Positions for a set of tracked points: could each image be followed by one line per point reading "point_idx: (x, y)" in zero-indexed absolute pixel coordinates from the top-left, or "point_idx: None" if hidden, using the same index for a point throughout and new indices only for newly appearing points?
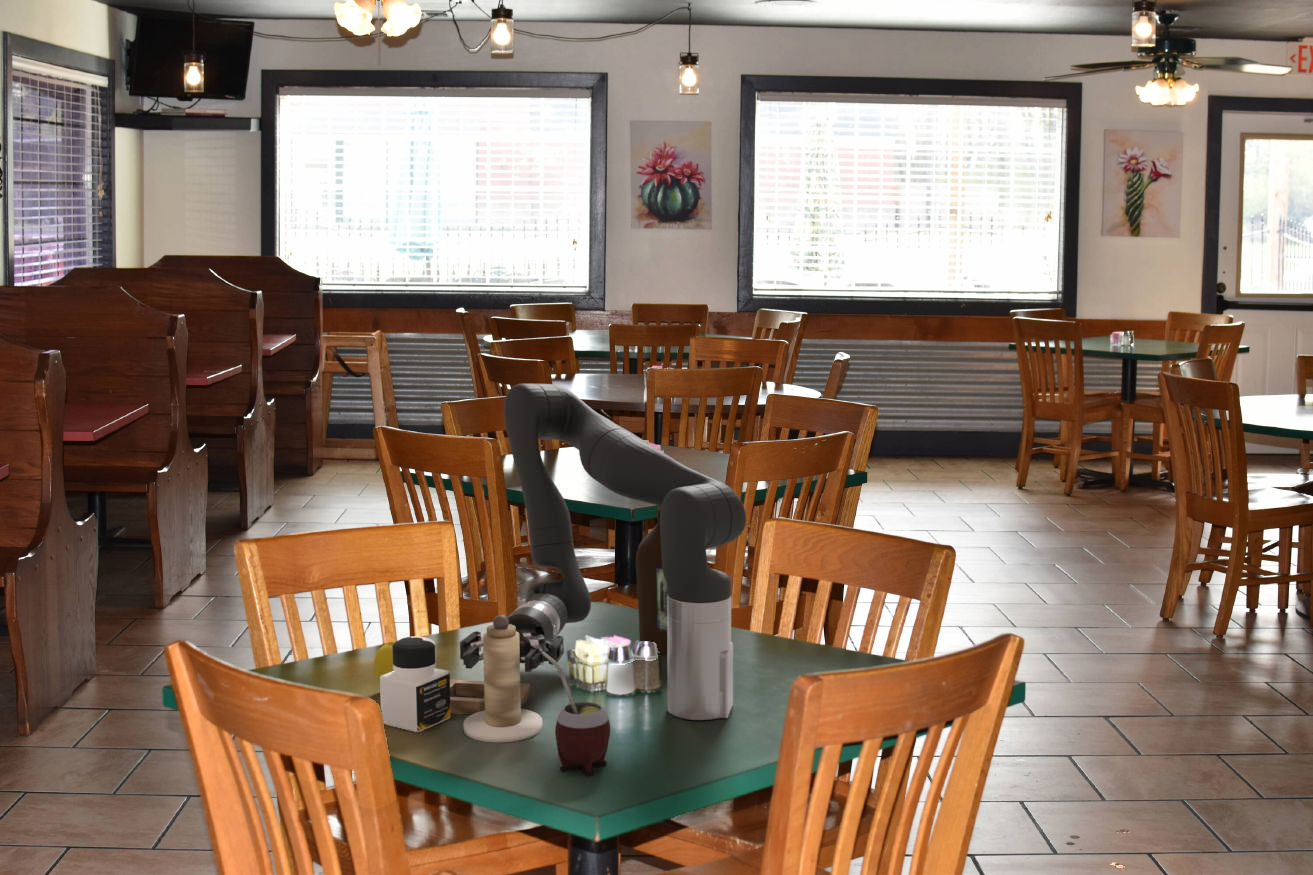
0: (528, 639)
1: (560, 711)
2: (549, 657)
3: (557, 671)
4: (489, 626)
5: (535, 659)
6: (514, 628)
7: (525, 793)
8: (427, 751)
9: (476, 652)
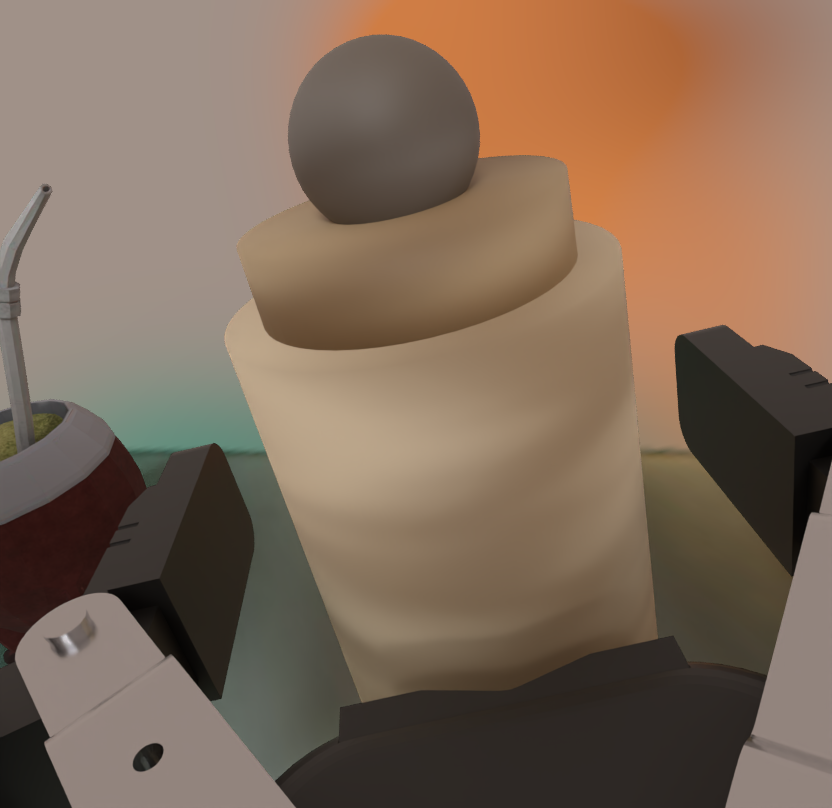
0: (195, 698)
1: (88, 434)
2: (23, 217)
3: (19, 286)
4: (546, 170)
5: (141, 504)
6: (243, 239)
7: (261, 458)
8: (697, 517)
9: (758, 444)
